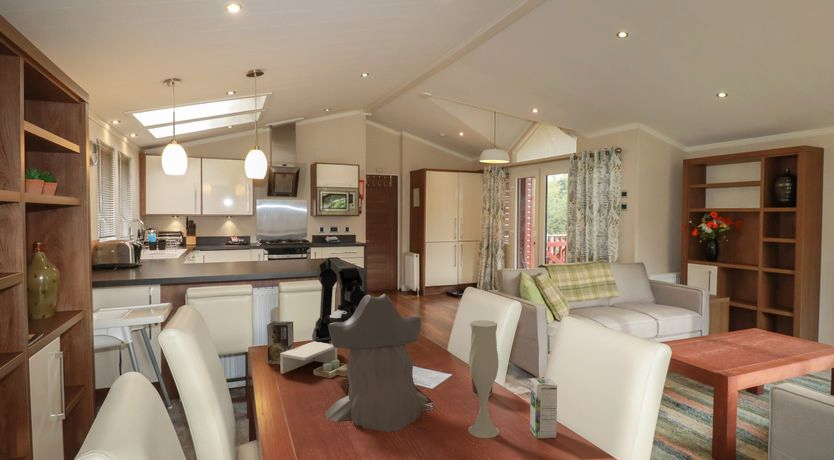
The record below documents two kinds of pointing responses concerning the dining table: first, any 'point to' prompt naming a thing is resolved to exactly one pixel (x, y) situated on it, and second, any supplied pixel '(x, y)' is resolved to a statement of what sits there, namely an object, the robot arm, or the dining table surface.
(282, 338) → the coffee box
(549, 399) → the syrup box
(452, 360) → the dining table surface
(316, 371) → the beige flat piece
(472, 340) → the vase
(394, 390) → the grey sculpted piece
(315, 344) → the cream flanged slab
